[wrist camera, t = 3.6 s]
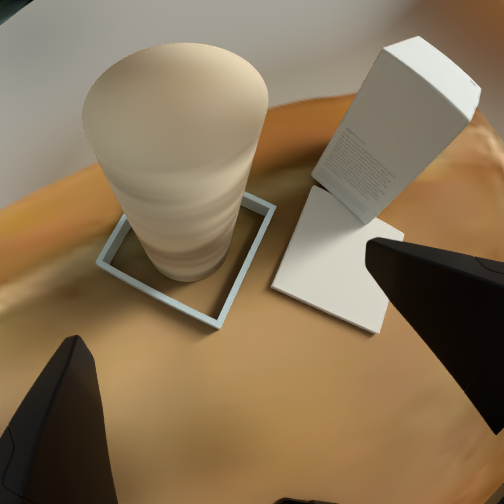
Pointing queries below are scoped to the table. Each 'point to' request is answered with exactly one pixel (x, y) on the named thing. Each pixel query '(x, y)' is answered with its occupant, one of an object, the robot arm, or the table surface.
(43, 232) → the table surface
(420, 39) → the small box
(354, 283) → the mat
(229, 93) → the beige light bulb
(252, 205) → the light blue square frame
